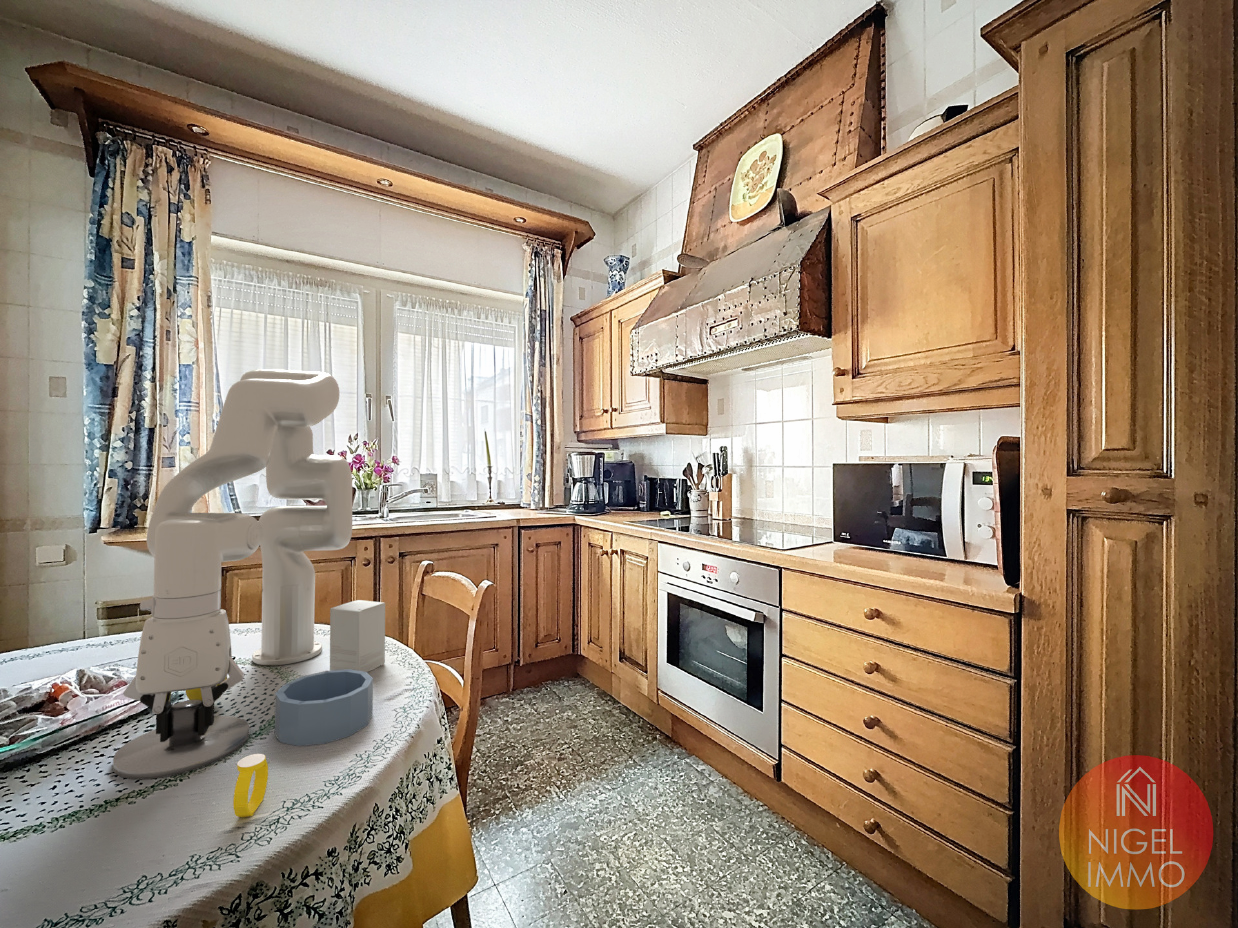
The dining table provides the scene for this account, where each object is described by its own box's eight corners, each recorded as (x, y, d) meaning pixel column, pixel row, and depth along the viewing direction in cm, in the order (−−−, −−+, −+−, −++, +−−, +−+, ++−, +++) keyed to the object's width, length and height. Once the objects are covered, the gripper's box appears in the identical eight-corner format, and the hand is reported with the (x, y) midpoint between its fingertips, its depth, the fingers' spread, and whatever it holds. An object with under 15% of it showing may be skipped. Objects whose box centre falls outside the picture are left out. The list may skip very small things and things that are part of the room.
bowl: (294, 708, 89) (295, 672, 89) (378, 702, 92) (379, 667, 92) (261, 749, 77) (261, 707, 77) (359, 740, 79) (360, 699, 79)
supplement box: (386, 663, 110) (387, 602, 110) (357, 677, 103) (358, 611, 103) (357, 659, 112) (358, 598, 112) (327, 671, 105) (329, 607, 105)
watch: (254, 825, 61) (253, 775, 61) (226, 828, 60) (225, 778, 60) (274, 790, 67) (274, 744, 67) (249, 793, 66) (248, 746, 66)
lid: (156, 728, 82) (157, 687, 82) (266, 719, 86) (266, 680, 86) (82, 785, 68) (83, 735, 68) (218, 771, 71) (219, 724, 71)
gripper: (99, 618, 70) (97, 760, 70) (252, 605, 77) (250, 734, 77) (123, 604, 77) (120, 734, 76) (261, 594, 84) (259, 712, 84)
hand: (185, 732), depth 77 cm, fingers closed on lid, 3 cm apart
